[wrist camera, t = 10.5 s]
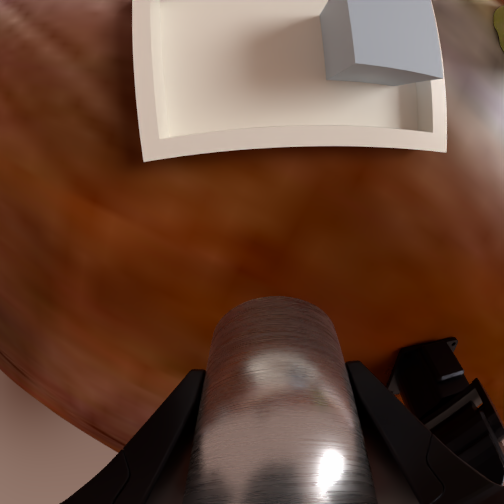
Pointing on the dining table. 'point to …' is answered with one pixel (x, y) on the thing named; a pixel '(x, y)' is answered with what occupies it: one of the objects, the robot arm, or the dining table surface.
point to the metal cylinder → (277, 413)
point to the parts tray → (263, 84)
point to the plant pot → (500, 24)
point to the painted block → (380, 41)
